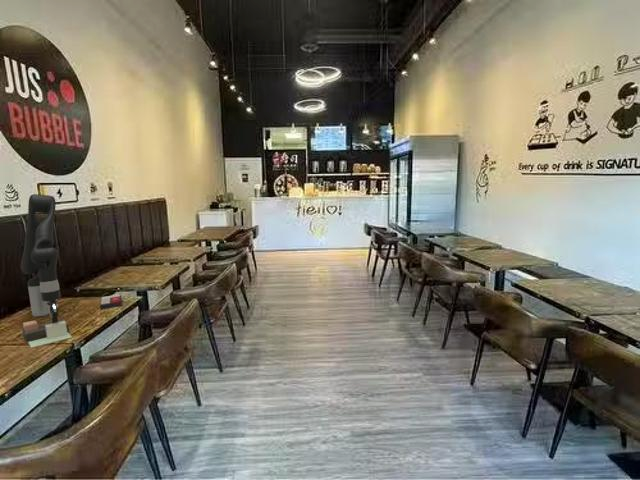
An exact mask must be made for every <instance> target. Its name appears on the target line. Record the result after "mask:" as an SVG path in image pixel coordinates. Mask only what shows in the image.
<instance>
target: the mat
mask: <svg viewBox="0 0 640 480" xmlns="http://www.w3.org/2000/svg"><path fill="white" fill-rule="evenodd" d="M68 339H69V340H70V339H73V337H72V335H71V334H70V332H67V334H66V335H62V336H58V337H54V338H50V339H47V337H46V338H42V339H38V340H34V341H30V342H28V343H27V344H28V345H29V348H30V349H34V348H38V347H41V346H46V345H49V344H53V342H54V343H56V342H57V341H58V342H60V341H64V340H68ZM33 347H34V348H33Z"/></svg>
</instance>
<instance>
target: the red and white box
mask: <svg viewBox="0 0 640 480" xmlns="http://www.w3.org/2000/svg"><path fill="white" fill-rule="evenodd" d="M122 302H123V300H122V294H115V295H107V296H102V297H100V302H99V306H100V309H99V310H106V309H107V310H108V309H113V308H119V307H122V306H123V305H122Z"/></svg>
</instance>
